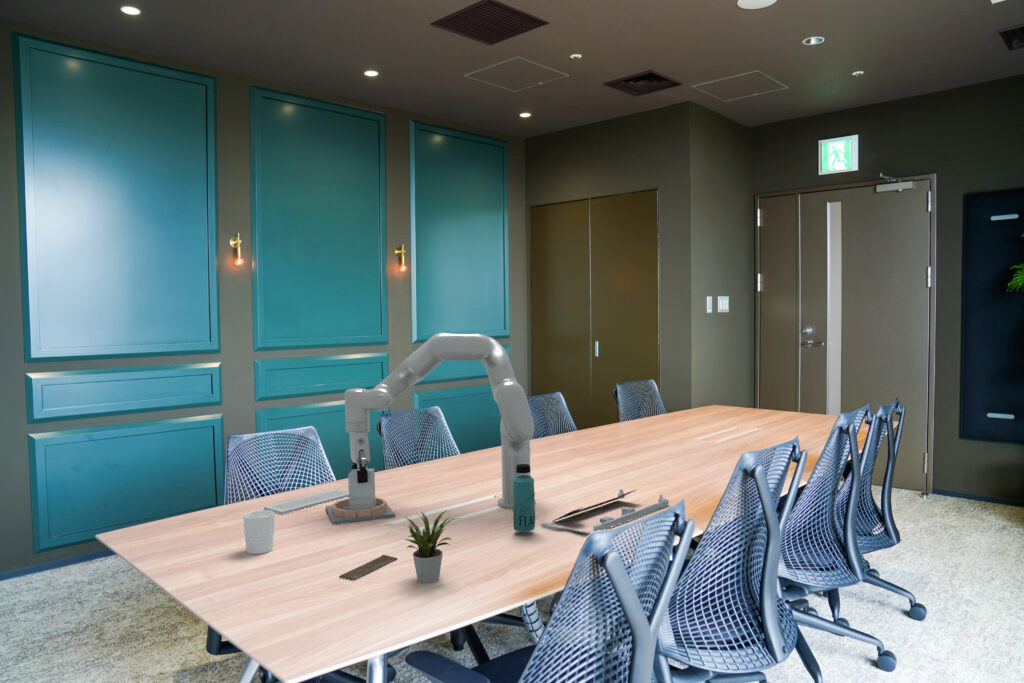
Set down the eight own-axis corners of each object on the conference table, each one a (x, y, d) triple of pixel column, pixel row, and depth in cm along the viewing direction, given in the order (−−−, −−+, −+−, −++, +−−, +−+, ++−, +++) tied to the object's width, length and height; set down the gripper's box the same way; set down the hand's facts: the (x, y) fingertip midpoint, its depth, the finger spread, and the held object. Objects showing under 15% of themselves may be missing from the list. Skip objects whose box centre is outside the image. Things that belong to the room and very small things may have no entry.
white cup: (265, 543, 191) (264, 508, 191) (280, 549, 186) (279, 513, 186) (238, 551, 185) (237, 514, 185) (254, 557, 180) (253, 519, 180)
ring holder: (395, 517, 215) (394, 507, 215) (333, 524, 208) (333, 514, 208) (383, 502, 233) (382, 493, 233) (325, 509, 226) (325, 500, 225)
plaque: (281, 511, 220) (263, 507, 226) (281, 516, 220) (264, 511, 226) (356, 492, 244) (338, 488, 250) (356, 496, 244) (338, 492, 250)
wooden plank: (354, 578, 162) (338, 573, 165) (354, 583, 162) (338, 578, 165) (398, 557, 177) (382, 553, 179) (397, 562, 177) (382, 558, 179)
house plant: (464, 566, 171) (463, 501, 170) (462, 588, 157) (460, 517, 156) (407, 568, 170) (405, 503, 170) (400, 590, 156) (398, 519, 156)
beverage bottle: (516, 538, 192) (515, 467, 192) (510, 531, 199) (509, 463, 198) (538, 535, 194) (537, 466, 193) (531, 529, 200) (530, 461, 200)
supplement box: (376, 506, 224) (375, 468, 224) (371, 512, 217) (371, 473, 216) (353, 506, 224) (352, 468, 224) (348, 513, 217) (347, 473, 216)
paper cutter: (668, 507, 223) (668, 490, 223) (583, 540, 191) (583, 520, 191) (622, 497, 235) (622, 481, 235) (535, 527, 203) (535, 508, 203)
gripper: (374, 429, 213) (376, 483, 213) (364, 422, 229) (367, 473, 229) (350, 431, 210) (352, 486, 211) (342, 424, 226) (344, 475, 227)
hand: (360, 479), depth 220 cm, fingers open, 9 cm apart
